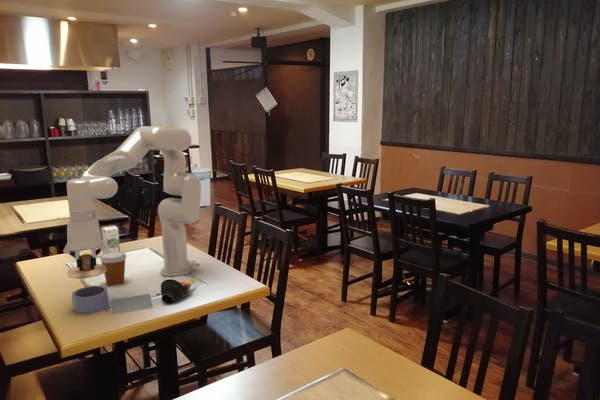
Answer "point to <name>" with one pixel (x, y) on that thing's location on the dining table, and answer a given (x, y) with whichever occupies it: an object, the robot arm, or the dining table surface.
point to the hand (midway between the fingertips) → (87, 268)
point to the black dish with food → (175, 289)
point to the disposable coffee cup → (114, 267)
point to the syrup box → (110, 238)
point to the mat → (131, 303)
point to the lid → (86, 269)
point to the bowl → (90, 299)
